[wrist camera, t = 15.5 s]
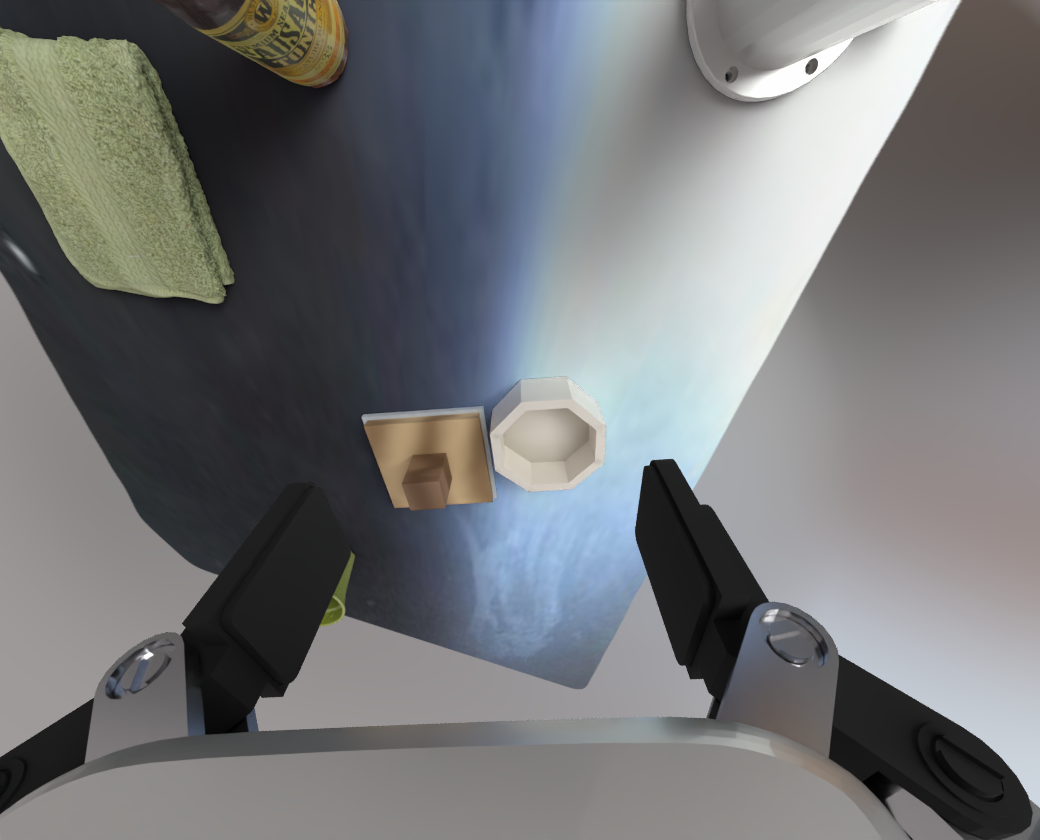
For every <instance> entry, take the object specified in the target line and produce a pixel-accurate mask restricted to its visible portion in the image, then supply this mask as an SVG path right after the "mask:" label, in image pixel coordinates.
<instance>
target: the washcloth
mask: <svg viewBox="0 0 1040 840" xmlns="http://www.w3.org/2000/svg"><path fill="white" fill-rule="evenodd" d="M0 136H1V139H2V141H3V143H4V145H5V147H6V149H7V151H8V153H9V154H10V155H11V157H12V158H13V160H14V161H15V163H16V165H17V167H18V168H19V170H20V172H21V174H22V176H23V177H24V179H25V181H26V182H27V184H28V185H29V187H30V189H31V190H32V192H33V194H34V196H35V197H36V199H37V201H38V203H39V204H40V206H41V208H42V210H43V212H44V214H45V216H46V219H47V220H48V222H49V224H50V226H51V228H52V230H53V232H54V235H55V237H56V238H57V240H58V242H59V244H60V246H61V248H62V250H63V251H64V253H65V255H66V256H67V258H68V259H69V261H70V262H71V263H72V264H73V265H74V266H75V267H76V268H77V270H79V273H80V274H81V275H83V277H84V278H85V279H86V280H87V281H88V282H90V283H91V284H93V285H94V286H95V287H99V288H104V289H109V290H110V289H114V290H121V291H126V292H130V293H136V294H142V295H146V296H151V297H156V298H159V297H163V298H166V297H174V296H176V297H185V298H192V299H197V300H201V301H203V302H207V303H214V304H218V303H222V302H223V301H224V296H226V294H225V293H226V290H225V288H224V287H223V285H228V284H233V283H234V277H233V275H234V273H233V272H232V269H231V268H230V266H229V261H228V259H227V255H226V253H225V251H224V249H223V247H222V245H221V240H220V236H219V234H218V231H217V229H216V227H215V223H214V222H213V220H212V216H211V215H210V208H209V206H208V204H207V201H206V197H205V195H204V194H203V190H202V189H201V185H200V182H199V180H198V179H197V178H196V175H197V174H196V172H195V171H194V165H193V163H192V161H191V160H190V158H189V153H188V151H187V149H188V148H187V145H186V144H185V143H184V141H183V140H184V137H182V135H181V134H180V133H179V129H178V124H177V123H176V121H175V117H174V116H173V115H172V108H171V105H170V103H169V100H168V99H167V98H166V95H165V93H164V91H163V89H162V82H161V80H160V78H159V75H158V73H157V71H156V70H155V69H154V68H153V67H152V65H151V63H150V62H149V60H148V58H147V57H146V56H145V54H144V52H143V51H141V49H140V48H139V47H138V46H137V45H135V44H134V43H130V42H128V41H127V40H116V39H112V40H109V41H108V40H104V39H97V38H93V39H90V40H89V41H85V40H83V39H80V38H78V37H71V36H68V37H67V36H62V37H57V41H55V40H50V39H37V38H35V39H34V38H29V37H28V36H27V35H24V34H22V33H19V32H13V31H12V30H9V29H2V28H0Z"/></svg>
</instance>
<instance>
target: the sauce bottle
mask: <svg viewBox="0 0 1040 840" xmlns="http://www.w3.org/2000/svg"><path fill="white" fill-rule="evenodd" d="M154 1H156V2H157V3H159V4H160V5H162V6H163V7H164V8H166V9H167V10H169V11H170V12H172V13H173V14H175V15H176V16H178V17H179V18H181V19H182V20H184V21H185V22H186V23H187V24H189V25H190V26H192V27H193V28H195V29H197V30H199V31H200V32H202V33H204V34H206V35H208V36H209V37H211V38H213V39H215V40H217V41H218V42H220V43H222V44H224V45H226V46H227V47H229V48H231V49H233V50H234V51H236V52H238V53H240V54H242V55H244V56H245V57H247V58H249V59H251V60H253V61H255V62H256V63H258V64H260V65H262V66H264V67H265V68H267V69H269V70H271V71H273V72H274V73H276V74H278V75H280V76H281V77H283V78H285V79H287V80H289V81H291V82H294V83H296V84H300V85H304V86H310V87H313V88H320V87H323V86H326V85H328V84H330V83H332V82H333V81H335V80H337V79H338V77H339V75H340V74H341V73H342V72H344V67H345V64H346V60H347V53H348V30H347V27H346V25H345V21H344V18H343V15H342V11H341V9H340V7H339V5H338V2H337V1H336V0H154Z"/></svg>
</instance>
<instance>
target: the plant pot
mask: <svg viewBox="0 0 1040 840" xmlns="http://www.w3.org/2000/svg"><path fill="white" fill-rule="evenodd" d="M354 559H355V555H354V554H353V553H352V551H351V556H350V559H349V561H348V564H347V566H346V568H345V570H344V572H343V575H342V577H341V579H340V581H339V584H338V586H337V588H336V590H335V593H334V595H333V597H332V599H331V602H330V604H329V606H328V608H327V610H326V613H325V615H324V617H323V619H322V622H321V624H320V626H328V625H332V624H334V623H337V622H339V621H340V620H341V619H342V618H343V617H344V614H345V605H344V604H345V594H346V590H347V586H348V582H349V578H350V575H351V571H352V567H353V563H354Z"/></svg>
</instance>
